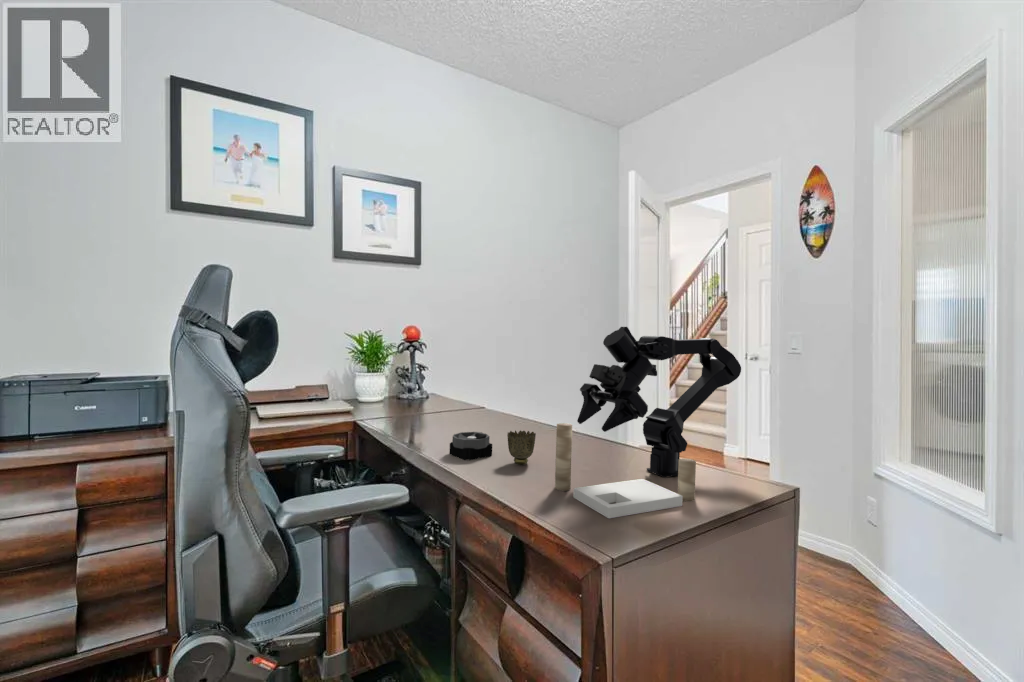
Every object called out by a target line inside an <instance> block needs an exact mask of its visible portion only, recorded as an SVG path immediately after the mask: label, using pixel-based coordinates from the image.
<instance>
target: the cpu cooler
mask: <svg viewBox="0 0 1024 682" xmlns="http://www.w3.org/2000/svg"><path fill="white" fill-rule="evenodd" d="M490 437H491V436H490V435H489V434H487V433H484V432H482V431H481V432H480V431H464V432H463V431H462V432H457V433H454V434H453V435H452V441H451V442H450V443H449V455H451V456H452V457H456V458H458V459H460V460H464V461H474V460H478V459H484V458H489V457H492V455H493V443H491V442H490Z"/></svg>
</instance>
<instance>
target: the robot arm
mask: <svg viewBox="0 0 1024 682" xmlns="http://www.w3.org/2000/svg"><path fill="white" fill-rule="evenodd" d="M602 344H603V346H604V347H605V348H606V349H607V351H608V352H609V353H610V355H611V356H612V357H613V359H614V360H615V361H616V362H617V363H620V364H621V363H623V365H622V366H619V365H618V364H617V365H616V364H612V365H611V366H608V365H603V364H593V367H592V369H591V371H590V374H589V378H590V379H593V380H595V381H597V382H599V383H600V384H599V385H600V386H598V384H595V383H588V382H587V383H583V384H582V386H581V387H580V388H579V391H580V393H581V396H582V398H583V403H582V407H581V409H580V412H579V414H578V417H577V420H576V421H577V423H578V424H579V425H582V424H583V423H585V422H586V421H588V420H590V418H592V417H593V416H594V415H596V414H597V413H598V412H600V411H601V410H602V407H603V406H605V405H606V404H607V402H609V403H613V404H614V408H613V409H612V411H611V412H610V414H609V416H608V417H607V418H606V420H605V421H604V423H603V425H602V426H601V430H602V432H605V433H606V432H608V431H610V430H612V429H614V428H617V427H618V426H620V425H623V424H626V423H628V422H631V421H632V420H637V419H639V418H644V417H645V420H644V421H643V424H642V433H643V436H644V439H645V443H646V445H647V446H651V453H650V457H649V467H647V468H646V471H647V472H650V473H651V474H652V473H653V474H655V475H658V476H660V477H662V478H669V477H678V465H679V459H680V453H681V454H682V452H686V450H687V446H688V441H687V440H686V439H685V437H684V436H683V435H682V433H684V432H683V431H684V423H685V422H686V421H687V420H688V419H689V418H690V417H691V416H692V414H694V413H695V411H696V410H697V409H699V407H700V406H702V404H703V403H705V401H707V399H708V398H709V397H711V395H713V393H714V392H716V390H717V389H719V388H721V387H725V386H727V385H730V384H732V383H733V382H734V381H736V380H737V379H738V378H739V377H740V375H741V373H742V366H741V364H740V362H739V360H737V358H736V357H735V354H734V353H732V352H731V351H729V350H728V349H726V348H725V347H724V346H722V344H721V343H720V341H719V340H718V339H715V338H714V337H713V338H712V337H711V338H709V337H707V338H706V337H700V338H697V339H695V338H694V339H693V338H692V339H691V338H690V339H675V338H672V337H668V336H667V337H666V336H663V335H662V336H661V335H657V336H656V335H642V336H640V337H639V339H638V340H636V338H635V337H634V335H633V334H632V333H631V330H630V328H629V327H628V326H620V327H619V328H618V329H617V330H614V331H612V332H611V333H609V334H608V335H606V336H605V338H604V339H603V343H602ZM678 355H681V356H682V355H699V362H700V364H701V366H702V368H701V374H700V375H701V376H700V377H698V379H696V380H695V382H694V383H692V384H691V385H690V387H689V388H688V389H687V390H686V391H684V393H682V394H681V395H680V397H678V398H677V399H676V401H674V402H673V403H672V404H671V405H670V406H669V407H668V408H667V409H664V408H661V407H656V408H655V409H653V411H652V412H651V413H650V414H648V415H647V416H646V414H647V413H648V409H649V405H648V404H647V403H646V401H645V399H644V398H643V397H642V396H641V395H640V393H639V392H640V391H641V390H642V389H641V387H640V385H641V384H642V382H643V381H644V380H645V378H647V376H651V377H658V370H657V365H656V364H653V363H652V362H651V361H665V360H668V359H672V358H674V357H675V356H678ZM650 360H651V361H650ZM600 387H601V388H602V389H603V391H602V390H601V388H600Z"/></svg>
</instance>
